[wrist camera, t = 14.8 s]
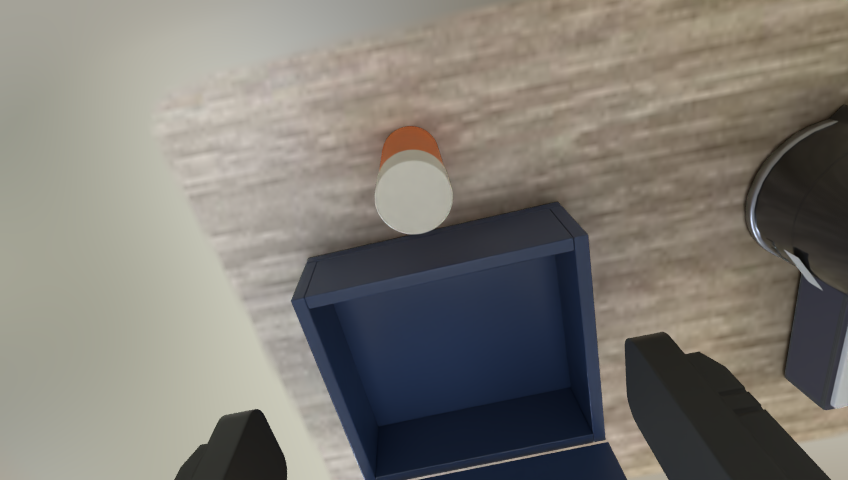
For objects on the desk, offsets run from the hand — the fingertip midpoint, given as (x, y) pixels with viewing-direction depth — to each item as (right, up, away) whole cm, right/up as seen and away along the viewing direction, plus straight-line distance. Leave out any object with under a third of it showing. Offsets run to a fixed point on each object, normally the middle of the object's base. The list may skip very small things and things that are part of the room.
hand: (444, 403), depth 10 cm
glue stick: (-1, +9, +18) cm, 20 cm away
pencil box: (+2, -3, +23) cm, 23 cm away
